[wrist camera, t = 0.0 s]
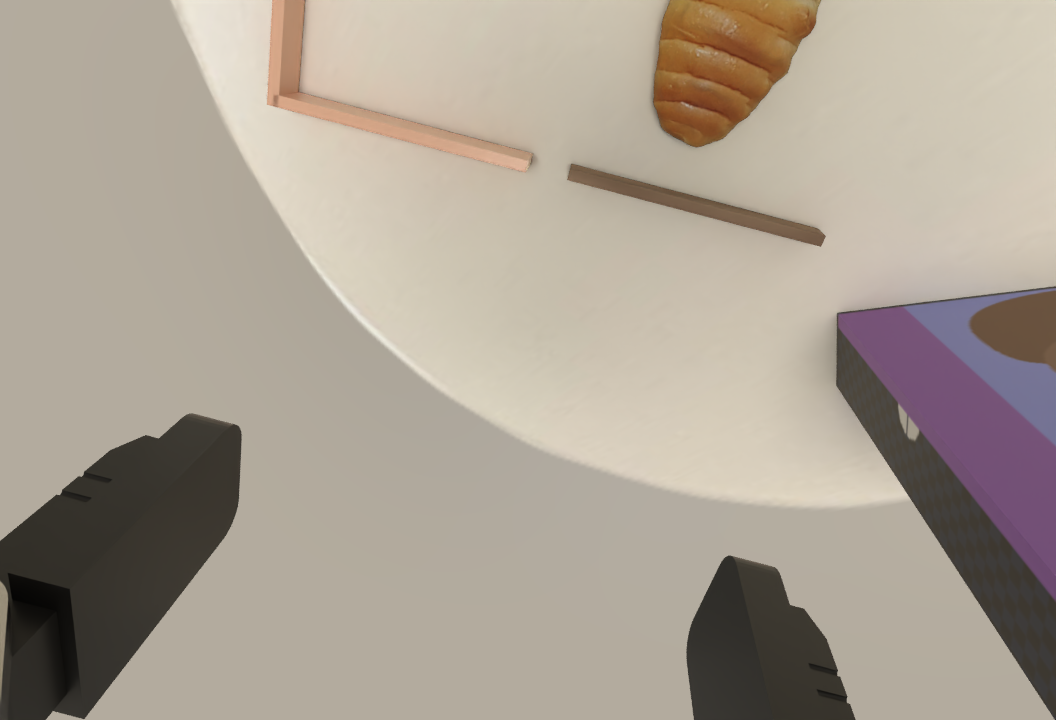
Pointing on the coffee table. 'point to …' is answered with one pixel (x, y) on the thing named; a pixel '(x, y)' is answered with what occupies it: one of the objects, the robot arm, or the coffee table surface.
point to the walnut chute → (696, 205)
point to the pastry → (723, 61)
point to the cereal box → (972, 444)
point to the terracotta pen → (286, 96)
